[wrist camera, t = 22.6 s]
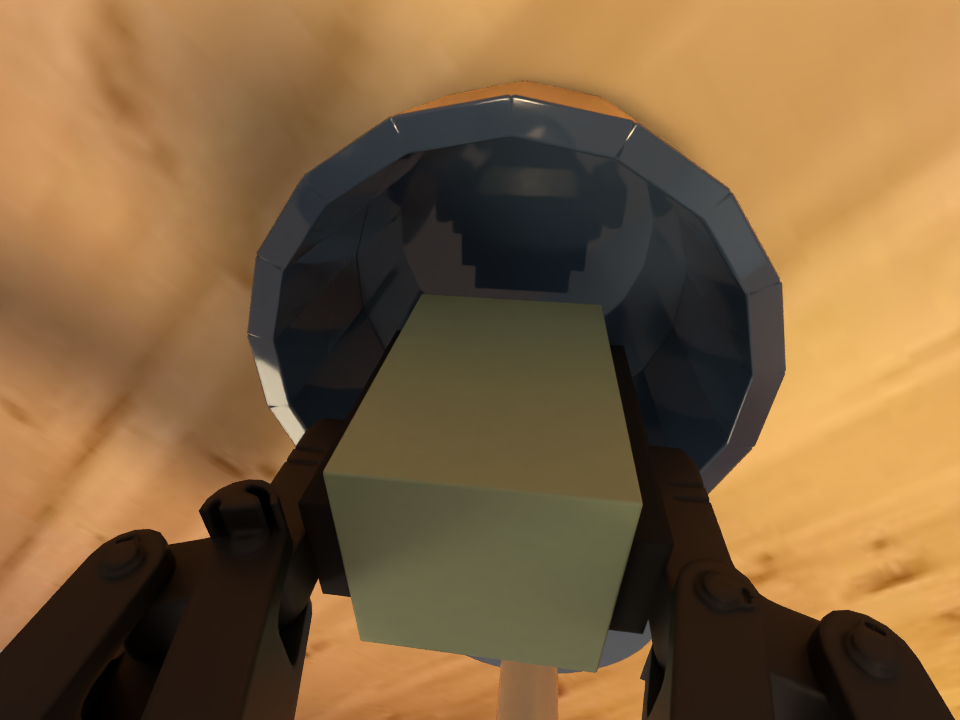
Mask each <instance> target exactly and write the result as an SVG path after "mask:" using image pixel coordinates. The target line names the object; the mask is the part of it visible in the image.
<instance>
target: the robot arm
mask: <svg viewBox="0 0 960 720" xmlns="http://www.w3.org/2000/svg"><path fill="white" fill-rule="evenodd" d="M401 331H402V330H396V332H395V334H394V336H393V337H392V339H391V341H390V343H389V344H388V346H387V348H386V350H385V351H384V353H383V355H382V357H381V358H380V360H379V362H378V364H377V365H376V367H375V369H374V371H373V372H372V374H371V376H370V378H369V379H368V381H367V383H366V385H365V386H364V388H363V390H362V392H361V393H360V395H359V397H358V399H357V400H356V402H355V404H354V406H353V407H352V409H351V411H350V413H349V414H348V416H347V418H346V420H341V419H330V418H322V419H321V420H319V421H318V422H317V423H315V424H314V425H313V426H311V427H310V428H309V429H307V430H306V431H305V433H304V434H303V436H302V437H301V439H300V440H299V442H298V443H297V445H296V448H295V449H293V451H292V452H291V454H290V455H289V457H288V458H287V462H285V463H284V464H283V466H282V467H281V469H280V470H279V472H278V473H277V475H276V476H275V478H274V480H273V481H272V483H271V484H269V483H267V482H265V481H263V480H250V479H249V480H244V481H239V482H235V483H232V484H230V485H228V486H226V487H223V488H221V489H219V490H218V491H217V492H215V493H214V494H213V495H212V496H210V497H209V498H208V499H207V500H206V501H205V503H204V504H203V505H202V507H201V508H200V510H199V512H200V515H201V517H202V519H203V521H204V524H205V526H206V528H207V530H208V533H209V535H210V537H209V538H205V539H200V540H194V541H188V542H182V543H176V544H170V545H168V543H167V541H166V540H165V538H164V537H163V536H162V534H161V533H160V532H157V531H154V530H151V529H143V530H133V531H130V532H127V533H124V534H121V535H118V536H117V537H115V538H113V539H111V540H109V541H108V542H106V543H104V544H103V545H101V546H100V547H99V548H98V549H97V550H96V551H94V552H93V553H92V554H91V555H90V556H89V557H88V558H87V559H86V560H85V561H84V562H83V563H82V564H81V566H80V567H79V568H78V569H77V570H76V571H75V572H74V573H73V574H72V575H71V576H70V578H69V579H68V580H67V581H66V582H65V583H64V584H63V585H62V586H61V587H60V589H59V590H58V591H57V592H56V593H55V594H54V595H53V596H52V597H51V598H50V599H49V601H48V602H47V603H46V604H45V605H44V606H43V607H42V608H41V609H40V610H39V611H38V613H37V614H36V615H35V616H34V617H33V618H32V619H31V620H30V621H29V622H28V623H27V625H26V626H25V627H24V628H23V629H22V630H21V631H20V632H19V633H18V634H17V635H16V637H15V638H14V639H13V640H12V641H11V642H10V643H9V644H8V645H7V646H6V647H5V649H4V650H3V651H2V652H1V653H0V720H294V717H295V712H296V706H297V700H298V694H299V688H300V682H301V676H302V670H303V665H304V659H305V653H306V647H307V641H308V635H309V629H310V623H311V617H312V603H311V600H310V595H311V593H312V591H313V589H314V587H315V584H316V582H317V580H318V578H319V582H320V585H321V589H322V592H323V593H324V594H331V595H339V596H347V597H351V596H350V591H349V587H348V582H347V578H346V573H345V569H344V565H343V560H342V556H341V551H340V547H339V542H338V538H337V534H336V529H335V525H334V520H333V516H332V511H331V507H330V503H329V498H328V494H327V489H326V485H325V480H324V476H323V471H324V469H325V467H326V465H327V464H328V462H329V460H330V458H331V456H332V455H333V453H334V451H335V449H336V447H337V446H338V444H339V442H340V440H341V438H342V437H343V435H344V433H345V431H346V429H347V428H348V426H349V424H350V422H351V420H352V419H353V417H354V415H355V413H356V411H357V410H358V408H359V406H360V404H361V402H362V401H363V399H364V397H365V395H366V393H367V392H368V390H369V388H370V386H371V384H372V383H373V381H374V379H375V377H376V376H377V374H378V372H379V370H380V368H381V367H382V365H383V363H384V361H385V359H386V358H387V356H388V354H389V352H390V350H391V349H392V347H393V345H394V343H395V341H396V340H397V338H398V336H399V334H400V332H401ZM610 349H611V354H612V359H613V364H614V368H615V373H616V378H617V383H618V388H619V392H620V397H621V402H622V407H623V412H624V416H625V421H626V426H627V431H628V436H629V441H630V445H631V450H632V455H633V460H634V465H635V469H636V474H637V479H638V484H639V489H640V493H641V498H642V503H643V506H642V509H641V513H640V517H639V520H638V524H637V528H636V531H635V535H634V539H633V542H632V546H631V550H630V553H629V557H628V561H627V564H626V568H625V572H624V575H623V579H622V583H621V586H620V590H619V593H618V597H617V601H616V604H615V608H614V612H613V615H612V619H611V623H610V626H609V630H613V631H621V632H629V633H637V634H643V633H644V630H645V627H646V625H647V622H648V620H649V626H650V631H651V637H652V643H653V644H652V647H651V650H650V652H649V655H648V658H647V660H646V663H645V666H644V668H643V671H642V674H641V677H640V679H642V680H645V691H644V702H643V712H642V720H955V719H954V717H953V716H952V714H951V712H950V711H949V709H948V707H947V706H946V704H945V702H944V701H943V699H942V697H941V696H940V694H939V692H938V691H937V689H936V687H935V686H934V684H933V682H932V681H931V679H930V677H929V676H928V674H927V672H926V671H925V669H924V667H923V666H922V664H921V662H920V661H919V659H918V658H917V656H916V655H915V654H914V653H913V651H912V650H911V649H910V647H909V646H908V645H907V644H906V642H905V641H904V640H903V639H901V638H900V637H899V636H898V635H897V634H895V633H894V632H893V631H892V630H891V629H889V628H888V627H887V626H886V625H884V624H882V623H880V622H878V621H876V620H875V619H873V618H871V617H869V616H867V615H864V614H861V613H857V612H854V611H850V610H838V611H832V612H830V613H829V614H827V615H826V616H824V617H823V618H822V620H821V621H819V620H816V619H814V618H811V617H808V616H806V615H803V614H801V613H798V612H796V611H793V610H791V609H788V608H786V607H783V606H781V605H779V604H776V603H774V602H772V601H770V600H768V599H766V598H765V597H764V596H762V595H761V594H759V593H758V591H757V590H756V588H755V587H754V586H753V584H752V583H751V582H750V580H749V579H748V578H747V577H746V576H745V575H743V574H742V573H741V572H740V571H738V570H737V569H736V568H735V567H734V565H733V563H732V561H731V558H730V555H729V552H728V550H727V547H726V544H725V541H724V539H723V536H722V533H721V530H720V527H719V525H718V522H717V519H716V516H715V514H714V511H713V508H712V505H711V503H709V497H708V494H707V491H706V489H705V487H704V483H703V480H702V477H701V475H700V472H699V469H698V466H697V465H696V464H695V462H694V461H693V460H692V459H691V458H690V457H689V456H688V455H687V453H686V452H685V451H684V450H683V449H681V448H670V447H659V446H649V443H648V439H647V435H646V431H645V427H644V423H643V419H642V415H641V411H640V407H639V403H638V399H637V396H636V392H635V388H634V384H633V380H632V376H631V372H630V368H629V364H628V360H627V356H626V352H625V348H624V346H622V345H610Z"/></svg>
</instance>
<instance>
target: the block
mask: <svg viewBox="0 0 960 720" xmlns="http://www.w3.org/2000/svg"><path fill="white" fill-rule="evenodd" d="M323 476H324V480H325V485H326V489H327V494H328V498H329V503H330V507H331V511H332V516H333V520H334V525H335V529H336V534H337V538H338V542H339V547H340V551H341V556H342V560H343V565H344V569H345V573H346V578H347V582H348V587H349V591H350V596H351V600H352V604H353V609H354V613H355V618H356V622H357V627H358V631H359V635H360V640H362V641H367V642H374V643H382V644H389V645H396V646H404V647H411V648H418V649H425V650H433V651H440V652H447V653H455V654H462V655H469V656H477V657H484V658H491V659H498V660H506V661H513V662H520V663H528V664H535V665H542V666H549V667H557V668H564V669H571V670H579V671H586V672H593V673H595V672H597V670H598V667H599V663H600V659H601V656H602V652H603V648H604V645H605V641H606V637H607V634H608V630H609V626H610V623H611V619H612V615H613V612H614V608H615V604H616V601H617V597H618V593H619V590H620V586H621V583H622V579H623V575H624V572H625V568H626V564H627V561H628V557H629V553H630V550H631V546H632V542H633V539H634V535H635V531H636V528H637V524H638V520H639V517H640V513H641V509H642V506H643V503H642V498H641V493H640V489H639V484H638V479H637V474H636V469H635V465H634V460H633V455H632V450H631V445H630V441H629V436H628V431H627V426H626V421H625V416H624V412H623V407H622V402H621V397H620V392H619V388H618V383H617V378H616V373H615V368H614V364H613V359H612V354H611V349H610V344H609V340H608V335H607V330H606V325H605V320H604V316H603V311H602V306H601V305H592V304H576V303H560V302H543V301H527V300H511V299H494V298H478V297H461V296H445V295H429V294H422V295H421V296H420V298H419V300H418V302H417V304H416V305H415V307H414V309H413V311H412V313H411V314H410V316H409V318H408V320H407V322H406V323H405V325H404V327H403V329H402V331H401V332H400V334H399V336H398V338H397V340H396V341H395V343H394V345H393V347H392V349H391V350H390V352H389V354H388V356H387V358H386V359H385V361H384V363H383V365H382V367H381V368H380V370H379V372H378V374H377V376H376V377H375V379H374V381H373V383H372V384H371V386H370V388H369V390H368V392H367V393H366V395H365V397H364V399H363V401H362V402H361V404H360V406H359V408H358V410H357V411H356V413H355V415H354V417H353V419H352V420H351V422H350V424H349V426H348V428H347V429H346V431H345V433H344V435H343V437H342V438H341V440H340V442H339V444H338V446H337V447H336V449H335V451H334V453H333V455H332V456H331V458H330V460H329V462H328V464H327V465H326V467H325V469H324V471H323Z"/></svg>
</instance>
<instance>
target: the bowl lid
mask: <svg viewBox="0 0 960 720" xmlns="http://www.w3.org/2000/svg"><path fill="white" fill-rule="evenodd" d="M651 639H652V637H651V631H650V626H649V620H648V622H647V625H646V627H645V630H644V633H643V634H637V633H629V632H621V631H613V630H608V634H607V637H606V641H605V645H604V648H603V652H602V656H601V659H600V663H599V667H598V668H601V667H605V666H608V665H611V664H614V663H616V662H619V661H621V660H623V659H625V658H627V657H629V656H631V655H633V654H634V653H636V652H637V651H639V650H640V649H642V648H643V647H644V646H645V645H646V644H647V643H648V642H650V640H651ZM466 656H468V657H471V658H474V659H476V660H479V661H481V662H484V663H488V664H491V665H494V666H498V667H500V678H499V690H498V703H497V715H496V720H558V673H573V672H582V671H579V670H571V669H564V668H557V667H549V666H542V665H535V664H528V663H520V662H513V661H506V660H498V659H491V658H484V657H477V656H469V655H466Z"/></svg>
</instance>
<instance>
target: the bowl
mask: <svg viewBox="0 0 960 720" xmlns="http://www.w3.org/2000/svg"><path fill="white" fill-rule="evenodd" d="M422 294H429V295H445V296H461V297H478V298H494V299H511V300H527V301H543V302H560V303H576V304H592V305H601V306H602V311H603V316H604V320H605V325H606V330H607V335H608V340H609V344H610V345H622V346H624V348H625V352H626V356H627V360H628V364H629V368H630V372H631V376H632V380H633V384H634V388H635V392H636V396H637V399H638V403H639V407H640V411H641V415H642V419H643V423H644V427H645V431H646V435H647V439H648V443H649V446H659V447H670V448H681V449H683V450H684V451H685V452H686V453H687V455H688V456H689V457H690V458H691V459H692V460H693V461H694V462H695V464H696V465H697V466H698V469H699V472H700V475H701V477H702V480H703V483H704V487H705V489H706V491H707V494H709V493H710V492H711V491H712V490H713V489H714V488H715V487H716V486H717V485H718V484H719V483H720V482H721V481H722V480H723V479H724V478H725V477H726V475H727V474H728V473H729V472H730V471H731V470H732V469H733V468H734V467H735V466H736V465H737V464H738V463H739V462H740V461H741V460H742V459H743V458H744V457H745V456H746V455H747V454H748V453H749V452H750V451H751V450H752V447H754V446H755V445H756V442H757V440H758V437H759V435H760V433H761V430H762V428H763V425H764V423H765V421H766V418H767V416H768V413H769V411H770V409H771V406H772V404H773V401H774V399H775V397H776V394H777V392H778V389H779V387H780V385H781V382H782V380H783V377H784V375H785V371H786V363H785V339H784V315H783V292H782V283H781V281H780V277H779V275H778V273H777V272H776V270H775V268H774V266H773V264H772V262H771V261H770V259H769V257H768V255H767V253H766V252H765V250H764V248H763V246H762V244H761V243H760V241H759V239H758V237H757V235H756V233H755V232H754V230H753V228H752V226H751V224H750V223H749V221H748V219H747V217H746V215H745V214H744V212H743V210H742V208H741V206H740V204H739V203H738V201H737V199H736V197H735V195H734V194H733V193H732V192H731V191H730V189H729V188H728V187H727V186H725V185H724V184H723V183H721V182H720V181H718V180H717V179H716V178H714V177H713V176H712V175H710V174H709V173H707V172H706V171H705V170H703V169H702V168H701V167H699V166H698V165H696V164H695V163H694V162H692V161H691V160H689V159H688V158H687V157H685V156H684V155H683V154H681V153H680V152H678V151H677V150H676V149H674V148H673V147H671V146H670V145H669V144H667V143H666V142H665V141H663V140H662V139H660V138H659V137H658V136H656V135H655V134H653V133H652V132H651V131H649V130H648V129H647V128H645V127H644V126H642V125H641V124H640V123H638V122H637V121H635V120H634V119H633V118H631V117H630V116H628V115H627V114H626V113H624V112H623V111H621V110H620V109H619V108H617V107H616V106H614V105H613V104H612V103H610V102H609V101H607V100H606V99H603V98H601V97H598V96H594V95H589V94H585V93H580V92H576V91H571V90H567V89H563V88H559V87H555V86H548V85H544V84H539V83H535V82H530V81H526V82H525V81H520V82H514V83H509V84H504V85H497V86H492V87H488V88H482V89H477V90H472V91H466V92H461V93H456V94H451V95H448V96H445V97H442V98H439V99H437V100H434V101H431V102H428V103H426V104H423V105H420V106H418V107H415V108H412V109H409V110H407V111H404V112H401V113H398V114H396V115H393V116H390V117H388V118H387V119H385V120H384V121H382V122H381V123H380V124H378V125H377V126H375V127H374V128H372V129H371V130H369V131H368V132H366V133H365V134H363V135H362V136H360V137H359V138H357V139H356V140H354V141H353V142H351V143H350V144H348V145H347V146H345V147H344V148H343V149H341V150H340V151H338V152H337V153H335V154H334V155H332V156H331V157H329V158H328V159H326V160H325V161H323V162H322V163H320V164H319V165H317V166H316V167H314V168H313V169H311V170H310V171H309V172H307V173H306V174H305V175H304V177H302V178H301V180H300V181H299V183H298V185H297V186H296V188H295V190H294V191H293V193H292V195H291V196H290V198H289V200H288V201H287V203H286V205H285V206H284V208H283V210H282V211H281V213H280V215H279V216H278V218H277V220H276V221H275V223H274V225H273V226H272V228H271V230H270V231H269V233H268V235H267V236H266V238H265V240H264V241H263V243H262V245H261V246H260V248H259V250H258V251H257V255H256V259H255V269H254V278H253V287H252V296H251V305H250V314H249V323H248V332H247V333H248V340H249V343H250V347H251V350H252V354H253V357H254V361H255V364H256V368H257V371H258V375H259V378H260V382H261V385H262V389H263V392H264V396H265V399H266V403H267V405H268V406H269V409H270V410H271V411H272V413H273V414H274V416H275V417H276V419H277V420H278V422H279V423H280V424H281V426H282V427H283V429H284V430H285V432H286V433H287V434H288V436H289V437H290V439H291V440H292V442H293V443H294V445H295V446H296V445H297V443H298V442H299V440H300V439H301V437H302V436H303V434H304V433H305V431H306V430H307V429H309V428H310V427H311V426H313V425H314V424H315V423H317V422H318V421H319V420H321V419H322V418H330V419H341V420H346V418H347V416H348V414H349V413H350V411H351V409H352V407H353V406H354V404H355V402H356V400H357V399H358V397H359V395H360V393H361V392H362V390H363V388H364V386H365V385H366V383H367V381H368V379H369V378H370V376H371V374H372V372H373V371H374V369H375V367H376V365H377V364H378V362H379V360H380V358H381V357H382V355H383V353H384V351H385V350H386V348H387V346H388V344H389V343H390V341H391V339H392V337H393V336H394V334H395V332H396V330H402V329H403V327H404V325H405V323H406V322H407V320H408V318H409V316H410V314H411V313H412V311H413V309H414V307H415V305H416V304H417V302H418V300H419V298H420V296H421V295H422Z"/></svg>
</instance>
